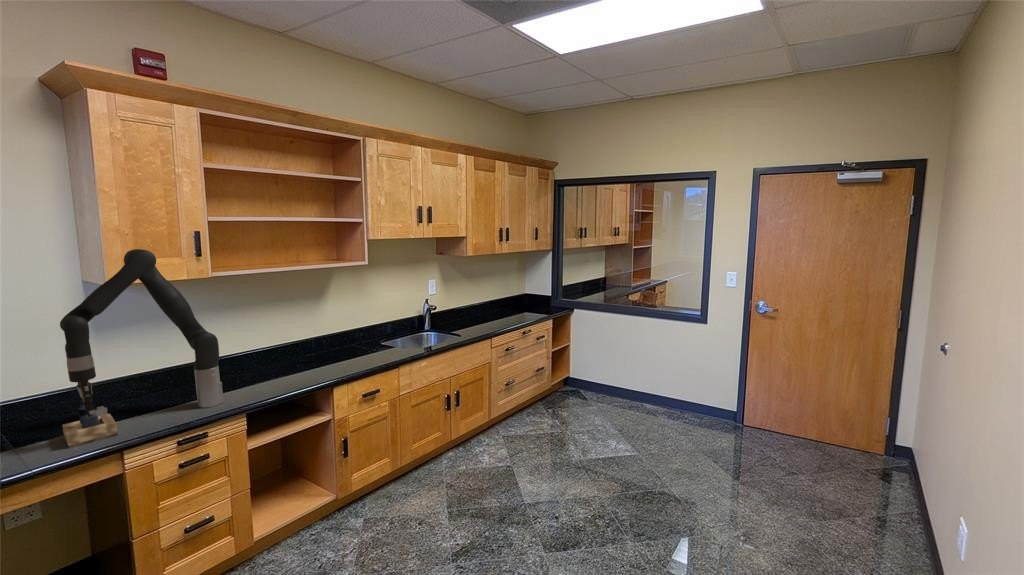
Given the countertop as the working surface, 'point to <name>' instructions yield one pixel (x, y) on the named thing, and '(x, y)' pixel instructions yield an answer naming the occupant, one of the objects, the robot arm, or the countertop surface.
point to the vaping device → (87, 418)
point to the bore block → (89, 431)
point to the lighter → (100, 411)
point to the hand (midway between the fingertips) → (87, 408)
